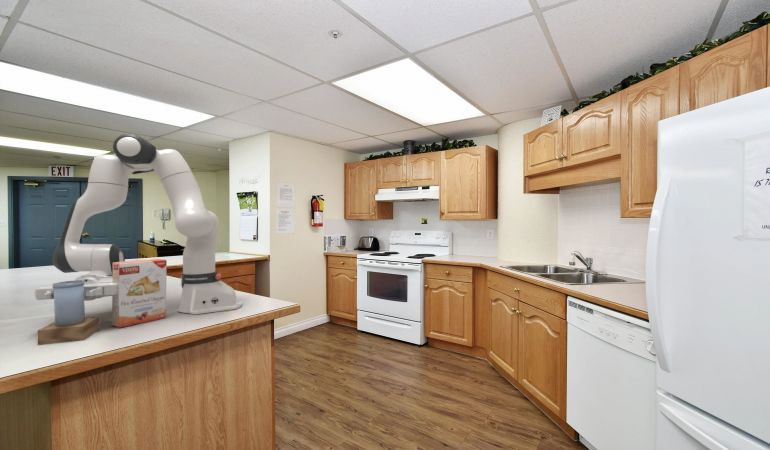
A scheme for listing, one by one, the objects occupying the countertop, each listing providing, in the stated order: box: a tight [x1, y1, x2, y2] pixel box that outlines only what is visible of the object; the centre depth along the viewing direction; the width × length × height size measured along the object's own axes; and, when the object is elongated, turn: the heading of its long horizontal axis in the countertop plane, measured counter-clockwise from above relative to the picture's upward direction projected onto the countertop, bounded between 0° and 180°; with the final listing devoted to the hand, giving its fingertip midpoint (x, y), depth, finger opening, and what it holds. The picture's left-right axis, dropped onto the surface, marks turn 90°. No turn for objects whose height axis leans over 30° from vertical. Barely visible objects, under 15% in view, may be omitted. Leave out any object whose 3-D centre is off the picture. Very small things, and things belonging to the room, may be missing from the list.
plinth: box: [37, 316, 100, 345], centre depth 97 cm, size 10×10×4 cm
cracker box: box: [111, 258, 167, 329], centre depth 111 cm, size 14×6×21 cm, turn 148°
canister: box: [51, 280, 86, 327], centre depth 97 cm, size 7×7×12 cm
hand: (68, 295), depth 96 cm, fingers open, 8 cm apart
